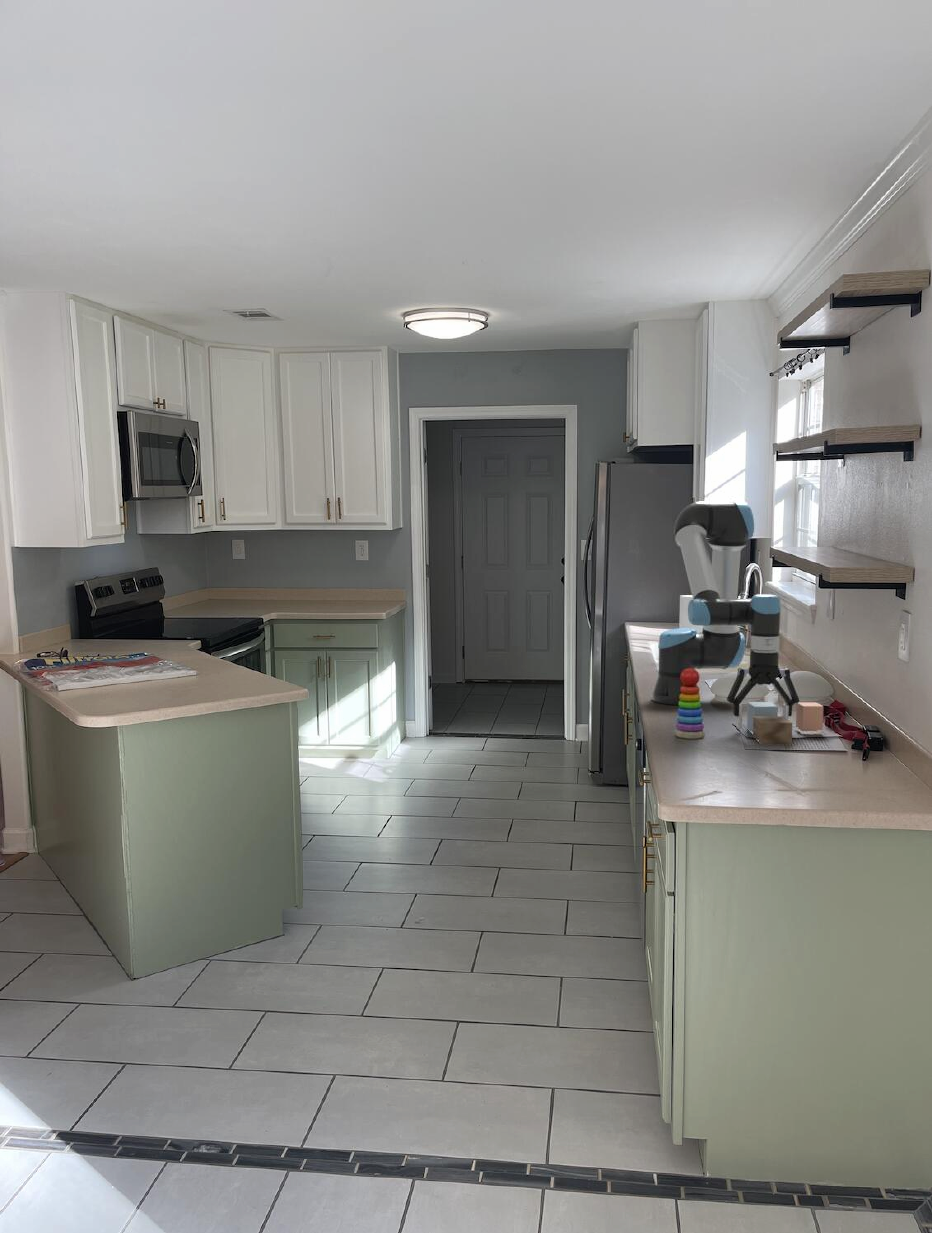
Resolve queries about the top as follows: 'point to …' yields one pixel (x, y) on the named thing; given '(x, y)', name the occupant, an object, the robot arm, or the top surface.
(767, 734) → the walnut block
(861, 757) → the top surface
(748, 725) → the blue grey block
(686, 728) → the stacking toy
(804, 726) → the terracotta block
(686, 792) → the top surface
